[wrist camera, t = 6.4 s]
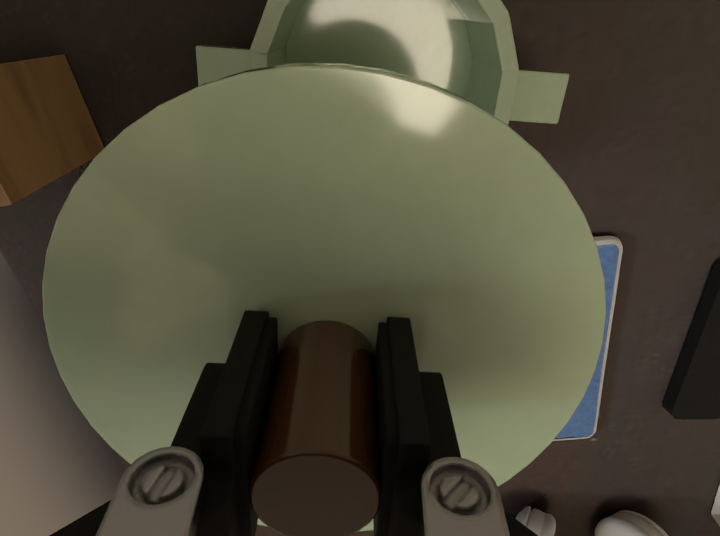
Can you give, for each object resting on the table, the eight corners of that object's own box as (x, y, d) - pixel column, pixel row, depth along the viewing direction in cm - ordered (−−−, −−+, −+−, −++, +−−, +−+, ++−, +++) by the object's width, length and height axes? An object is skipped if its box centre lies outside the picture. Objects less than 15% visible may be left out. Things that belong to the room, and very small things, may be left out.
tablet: (591, 429, 44) (597, 441, 43) (449, 441, 45) (451, 453, 44) (618, 230, 35) (627, 237, 34) (440, 248, 36) (443, 256, 35)
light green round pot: (503, 180, 34) (538, 223, 27) (234, 162, 33) (202, 201, 26) (549, -39, 28) (608, -53, 21) (223, -65, 27) (179, -89, 20)
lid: (524, 506, 17) (587, 695, 12) (116, 492, 16) (22, 682, 12) (661, 79, 10) (898, 137, 6) (3, 38, 10) (-296, 65, 5)
